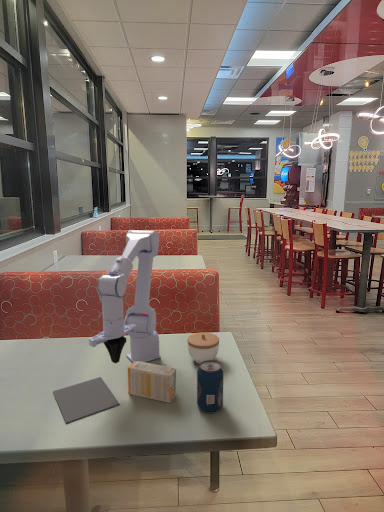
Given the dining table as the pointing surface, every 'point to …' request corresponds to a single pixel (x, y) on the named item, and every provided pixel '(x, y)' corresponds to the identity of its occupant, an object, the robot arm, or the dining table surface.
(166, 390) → the supplement box
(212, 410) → the soda can
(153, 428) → the dining table surface
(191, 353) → the lidded jar
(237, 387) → the dining table surface
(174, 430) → the dining table surface
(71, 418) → the mat
